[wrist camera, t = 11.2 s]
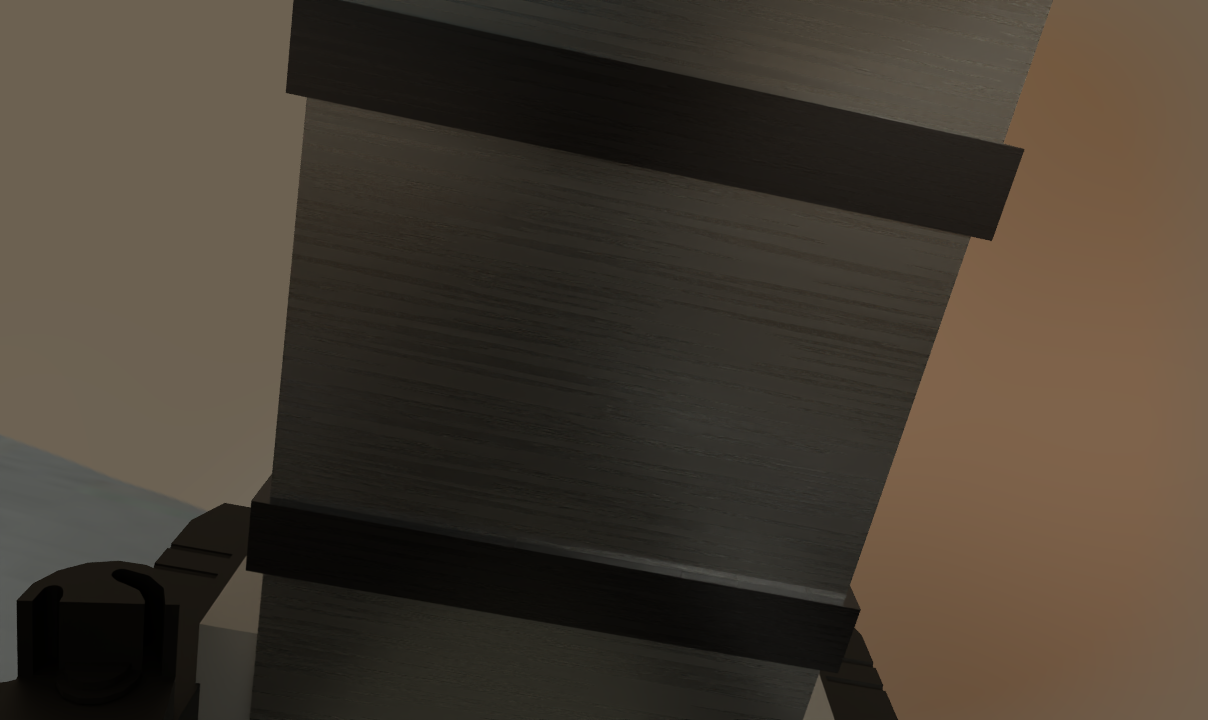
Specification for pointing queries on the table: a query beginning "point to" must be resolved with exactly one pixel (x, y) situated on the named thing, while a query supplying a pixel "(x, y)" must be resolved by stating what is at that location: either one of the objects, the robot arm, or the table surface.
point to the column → (609, 342)
